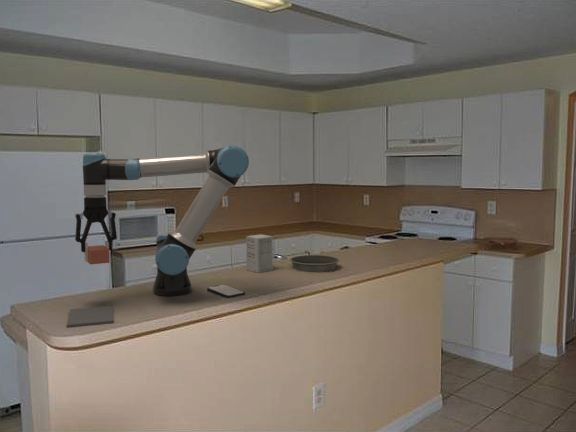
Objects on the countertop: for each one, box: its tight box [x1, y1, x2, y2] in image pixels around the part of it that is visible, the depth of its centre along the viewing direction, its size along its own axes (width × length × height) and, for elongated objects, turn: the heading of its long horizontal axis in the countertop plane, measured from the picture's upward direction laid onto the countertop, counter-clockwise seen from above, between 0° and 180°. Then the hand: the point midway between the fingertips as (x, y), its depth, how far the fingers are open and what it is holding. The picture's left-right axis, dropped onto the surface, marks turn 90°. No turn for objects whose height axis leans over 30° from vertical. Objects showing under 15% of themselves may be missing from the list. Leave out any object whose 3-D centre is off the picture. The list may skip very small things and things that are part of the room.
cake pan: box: [289, 254, 340, 273], centre depth 253 cm, size 25×25×4 cm
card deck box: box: [87, 244, 111, 266], centre depth 183 cm, size 10×6×5 cm, turn 32°
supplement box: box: [245, 233, 273, 274], centre depth 245 cm, size 10×9×17 cm
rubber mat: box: [66, 305, 115, 328], centre depth 170 cm, size 14×18×1 cm
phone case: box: [206, 284, 246, 299], centre depth 203 cm, size 9×2×16 cm
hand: (97, 259), depth 183 cm, fingers closed on card deck box, 6 cm apart
